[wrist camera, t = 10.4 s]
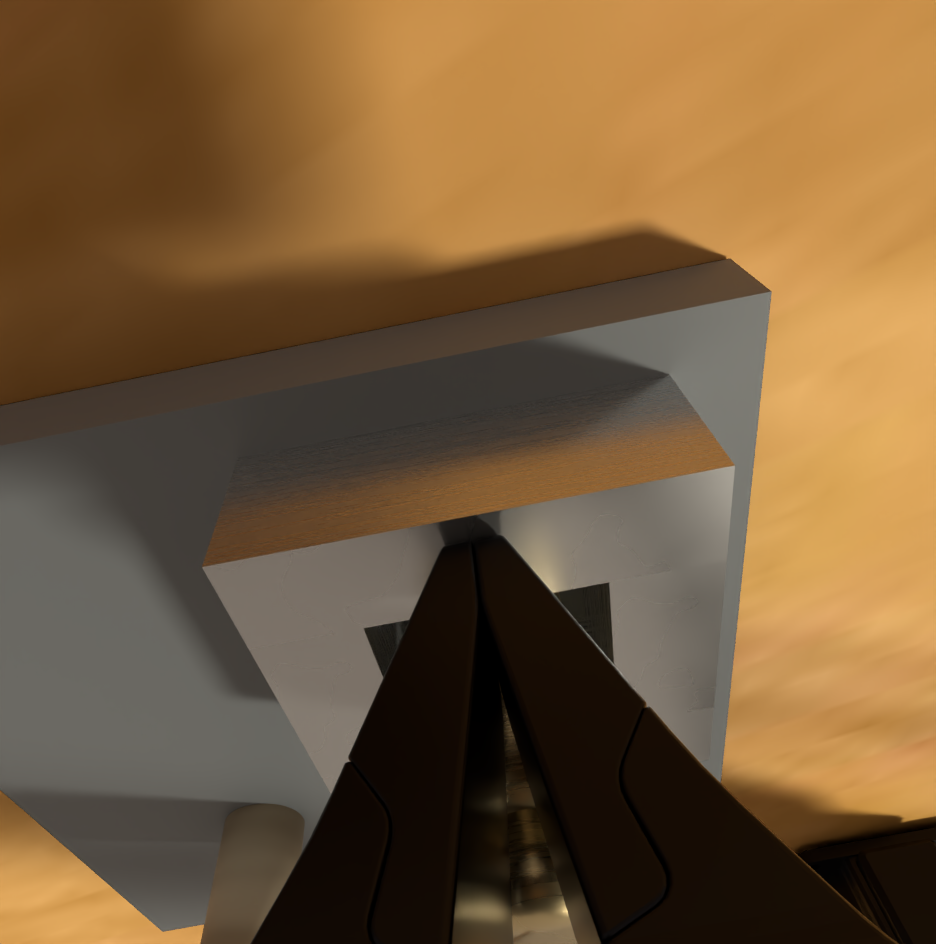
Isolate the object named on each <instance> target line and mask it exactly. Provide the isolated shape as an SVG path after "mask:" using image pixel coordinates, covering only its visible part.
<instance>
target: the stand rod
mask: <svg viewBox="0 0 936 944" xmlns="http://www.w3.org/2000/svg"><path fill="white" fill-rule="evenodd" d="M304 826H305V821H304V818H303V817H302V815H301V814H300V813H298V812H297V811H295V810H293V809H292V808H289V807H286V806H282V805H277V804H253V805H248V806H244V807H241V808H239V809H237V810H235V811H233V812H232V813H230V814H229V815H228V816H227V818H226V820H225V824H224V829H223V834H222V839H221V844H220V849H219V854H218V859H217V864H216V869H215V874H214V879H213V884H212V889H211V894H210V899H209V904H208V909H207V914H206V919H205V924H204V929H203V934H202V939H201V944H250V943H251V941H252V940H253V938H254V936H255V934H256V933H257V931H258V929H259V927H260V926H261V924H262V922H263V921H264V919H265V917H266V915H267V914H268V912H269V910H270V908H271V907H272V905H273V903H274V902H275V900H276V898H277V896H278V895H279V893H280V891H281V889H282V888H283V886H284V884H285V882H286V880H287V879H288V877H289V875H290V873H291V871H292V870H293V868H294V866H295V864H296V862H297V860H298V859H299V857H300V855H301V853H302V845H303V835H304Z"/></svg>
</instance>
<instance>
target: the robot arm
mask: <svg viewBox="0 0 936 944" xmlns="http://www.w3.org/2000/svg"><path fill="white" fill-rule="evenodd" d="M500 687H501V690H500ZM501 692H502V696H503V700H504V704H505V707H506V711H507V715H508V718H509V721H510V725H511V728H512V731H513V735H514V738H515V741H516V744H517V748H518V751H519V754H520V757H521V761H522V764H523V767H524V771H525V774H526V777H527V780H528V784H529V787H530V790H531V794H532V797H533V800H534V803H535V807H536V810H537V813H538V817H539V820H540V823H541V826H542V830H543V833H544V836H545V840H546V843H547V846H548V849H549V853H550V856H551V859H552V862H553V866H554V869H555V872H556V876H557V879H558V882H559V885H560V889H561V892H562V895H563V899H564V902H565V905H566V908H567V912H568V915H569V918H570V922H571V925H572V928H573V931H574V935H575V938H576V941H577V944H936V828H930V829H925V830H919V831H913V832H908V833H902V834H897V835H891V836H885V837H880V838H874V839H868V840H863V841H857V842H852V843H846V844H840V845H835V846H829V847H823V848H818V849H812V850H808V851H804V852H802V853H800V854H798V855H797V854H796V853H795V852H794V851H793V850H792V849H790V848H789V847H788V846H787V845H786V844H785V843H784V842H783V841H782V840H781V839H780V838H779V837H777V836H776V835H775V834H774V833H773V832H772V831H771V830H770V829H769V828H768V827H767V826H766V825H765V824H763V823H762V822H761V821H760V820H759V819H758V818H757V817H756V816H755V815H754V814H753V813H752V812H750V811H749V810H748V809H747V808H746V807H745V806H744V805H743V804H742V803H741V802H740V801H739V800H738V799H737V798H736V797H735V796H734V795H733V794H732V793H731V792H730V791H729V790H728V789H726V788H725V787H724V786H723V785H722V784H721V783H720V782H719V781H718V780H717V779H716V778H715V777H714V776H713V775H712V774H711V773H710V772H709V771H708V770H707V769H706V768H705V767H704V766H703V765H702V764H701V763H700V762H699V761H698V760H697V758H696V757H695V756H694V755H693V754H692V753H691V752H690V751H689V750H688V749H687V747H686V746H685V745H684V744H683V743H682V742H681V741H680V740H679V739H678V738H677V737H676V735H675V734H674V733H673V732H672V731H671V730H670V729H669V728H668V726H667V725H666V724H665V723H664V722H663V721H662V719H661V718H660V717H659V716H658V715H657V714H656V712H655V711H654V710H653V709H652V708H651V707H649V706H648V707H647V704H646V701H645V700H644V699H643V698H642V697H641V695H640V694H639V693H638V692H637V691H636V690H635V688H634V687H633V686H632V685H631V684H630V682H629V681H628V680H627V679H626V678H625V677H624V675H623V674H622V673H621V672H620V671H619V670H618V668H617V667H616V666H615V665H614V664H613V663H612V661H611V660H610V659H609V658H608V657H607V656H606V654H605V653H604V652H603V651H602V650H601V649H600V647H599V646H598V645H597V644H596V643H595V642H594V640H593V639H592V638H591V637H590V636H589V635H588V633H587V632H586V631H585V630H584V629H583V628H582V626H581V625H580V624H579V623H578V622H577V621H576V619H575V618H574V617H573V616H572V615H571V614H570V612H569V611H568V610H567V609H566V608H565V607H564V605H563V604H562V603H561V602H560V601H559V600H558V598H557V597H556V596H555V595H554V594H553V593H552V591H551V590H550V589H549V588H548V587H547V586H546V584H545V583H544V582H543V581H542V580H541V579H540V577H539V576H538V575H537V574H536V573H535V572H534V570H533V569H532V568H531V567H530V566H529V565H528V563H527V562H526V561H525V560H524V559H523V558H522V556H521V555H520V554H519V553H518V552H517V550H516V549H515V548H514V547H513V546H512V545H511V543H510V542H509V541H508V540H507V539H506V538H505V537H504V536H502V535H497V536H491V537H486V538H481V539H477V540H476V541H475V542H474V546H473V544H472V543H471V542H469V541H465V542H460V543H455V544H450V545H445V546H444V547H442V548H441V550H440V552H439V554H438V556H437V559H436V561H435V563H434V565H433V568H432V570H431V572H430V574H429V577H428V579H427V581H426V583H425V586H424V588H423V590H422V592H421V595H420V597H419V599H418V601H417V604H416V606H415V608H414V610H413V612H412V615H411V617H410V619H409V621H408V624H407V626H406V628H405V630H404V633H403V635H402V637H401V639H400V642H399V644H398V646H397V648H396V651H395V653H394V655H393V657H392V659H391V662H390V664H389V666H388V668H387V671H386V673H385V675H384V677H383V680H382V682H381V684H380V686H379V689H378V691H377V693H376V695H375V698H374V700H373V702H372V704H371V707H370V709H369V711H368V713H367V715H366V718H365V720H364V722H363V724H362V727H361V729H360V731H359V733H358V736H357V738H356V740H355V742H354V745H353V747H352V749H351V751H350V754H349V756H348V759H349V761H350V762H346V763H345V764H344V766H343V768H342V771H341V773H340V775H339V777H338V780H337V782H336V784H335V787H334V789H333V791H332V793H331V795H330V797H329V799H328V802H327V804H326V806H325V808H324V810H323V812H322V814H321V816H320V818H319V820H318V822H317V824H316V826H315V828H314V831H313V833H312V835H311V837H310V839H309V840H308V842H307V844H306V846H305V848H304V850H303V851H302V853H301V855H300V857H299V859H298V860H297V862H296V864H295V866H294V868H293V870H292V871H291V873H290V875H289V877H288V879H287V880H286V882H285V884H284V886H283V888H282V889H281V891H280V893H279V895H278V896H277V898H276V900H275V902H274V903H273V905H272V907H271V908H270V910H269V912H268V914H267V915H266V917H265V919H264V921H263V922H262V924H261V926H260V927H259V929H258V931H257V933H256V934H255V936H254V938H253V940H252V941H251V943H250V944H513V924H512V902H511V880H510V858H509V836H508V813H507V791H506V769H505V747H504V725H503V708H502V697H501Z"/></svg>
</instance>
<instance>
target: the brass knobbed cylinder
mask: <svg viewBox="0 0 936 944" xmlns="http://www.w3.org/2000/svg"><path fill="white" fill-rule="evenodd" d="M553 594H554V595H555V596H556V597H557V598H558V600H559V601H560V602H561V599H560V595H559V592H555V593H553ZM500 690H501V687H500ZM501 697H502V708H503V725H504V747H505V769H506V791H507V813H508V836H509V858H510V880H511V902H512V924H513V944H577V941H576V938H575V935H574V931H573V928H572V925H571V922H570V918H569V915H568V912H567V908H566V905H565V902H564V899H563V895H562V892H561V889H560V885H559V882H558V879H557V876H556V872H555V869H554V866H553V862H552V859H551V856H550V853H549V849H548V846H547V843H546V840H545V836H544V833H543V830H542V826H541V823H540V820H539V817H538V813H537V810H536V807H535V803H534V800H533V797H532V794H531V790H530V787H529V784H528V780H527V777H526V774H525V771H524V767H523V764H522V761H521V757H520V754H519V751H518V748H517V744H516V741H515V738H514V735H513V731H512V728H511V725H510V721H509V718H508V715H507V711H506V707H505V704H504V700H503V696H502V692H501Z"/></svg>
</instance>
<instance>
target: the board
mask: <svg viewBox="0 0 936 944" xmlns="http://www.w3.org/2000/svg"><path fill="white" fill-rule="evenodd" d="M770 301H771V291H770V290H769V289H768V288H766V287H765V286H764V285H763V284H761V283H760V282H759V281H758V280H756V279H755V278H754V277H753V276H751V275H750V274H749V273H748V272H746V271H745V270H744V269H743V268H741V267H740V266H739V265H738V264H736V263H735V262H734V261H733V260H731V259H725V260H720V261H715V262H710V263H705V264H700V265H695V266H690V267H685V268H680V269H675V270H670V271H665V272H660V273H656V274H651V275H646V276H641V277H636V278H631V279H626V280H621V281H616V282H611V283H606V284H601V285H596V286H591V287H586V288H581V289H576V290H571V291H566V292H561V293H556V294H551V295H547V296H542V297H537V298H532V299H527V300H522V301H517V302H512V303H507V304H502V305H497V306H492V307H487V308H482V309H477V310H472V311H467V312H462V313H457V314H452V315H447V316H442V317H437V318H433V319H428V320H423V321H418V322H413V323H408V324H403V325H398V326H393V327H388V328H383V329H378V330H373V331H368V332H363V333H358V334H353V335H348V336H343V337H338V338H333V339H328V340H324V341H319V342H314V343H309V344H304V345H299V346H294V347H289V348H284V349H279V350H274V351H269V352H264V353H259V354H254V355H249V356H244V357H239V358H234V359H229V360H224V361H219V362H214V363H210V364H205V365H200V366H195V367H190V368H185V369H180V370H175V371H170V372H165V373H160V374H155V375H150V376H145V377H140V378H135V379H130V380H125V381H120V382H115V383H110V384H105V385H100V386H96V387H91V388H86V389H81V390H76V391H71V392H66V393H61V394H56V395H51V396H46V397H41V398H36V399H31V400H26V401H21V402H16V403H11V404H6V405H1V406H0V790H1V791H2V792H3V793H4V794H5V795H7V796H8V797H9V798H10V799H11V800H12V801H13V802H15V803H16V804H17V805H18V806H19V807H20V808H21V809H23V810H24V811H25V812H26V813H27V814H28V815H30V816H31V817H32V818H33V819H34V820H35V821H36V822H38V823H39V824H40V825H41V826H42V827H43V828H44V829H46V830H47V831H48V832H49V833H50V834H51V835H52V836H54V837H55V838H56V839H57V840H58V841H59V842H60V843H62V844H63V845H64V846H65V847H66V848H67V849H69V850H70V851H71V852H72V853H73V854H74V855H75V856H77V857H78V858H79V859H80V860H81V861H82V862H83V863H85V864H86V865H87V866H88V867H89V868H90V869H91V870H93V871H94V872H95V873H96V874H97V875H98V876H99V877H101V878H102V879H103V880H104V881H105V882H106V883H108V884H109V885H110V886H111V887H112V888H113V889H114V890H116V891H117V892H118V893H119V894H120V895H121V896H122V897H124V898H125V899H126V900H127V901H128V902H129V903H130V904H132V905H133V906H134V907H135V908H136V909H137V910H138V911H140V912H141V913H142V914H143V915H144V916H145V917H147V918H148V919H149V920H150V921H151V922H152V923H153V924H155V925H156V926H157V927H158V928H159V929H160V930H161V931H163V932H164V931H169V930H175V929H180V928H186V927H192V926H197V925H203V924H205V919H206V914H207V909H208V904H209V899H210V894H211V889H212V884H213V879H214V874H215V869H216V864H217V859H218V854H219V849H220V844H221V839H222V834H223V829H224V824H225V820H226V818H227V816H228V815H229V814H230V813H232V812H233V811H235V810H237V809H239V808H241V807H244V806H248V805H253V804H277V805H282V806H286V807H289V808H292V809H293V810H295V811H297V812H298V813H300V814H301V815H302V817H303V818H304V821H305V826H304V835H303V845H302V851H303V850H304V848H305V846H306V844H307V842H308V840H309V839H310V837H311V835H312V833H313V831H314V828H315V826H316V824H317V822H318V820H319V818H320V816H321V814H322V812H323V810H324V808H325V806H326V804H327V802H328V799H329V797H330V795H331V793H330V791H329V790H328V788H327V786H326V784H325V783H324V781H323V779H322V777H321V776H320V774H319V772H318V770H317V769H316V767H315V765H314V763H313V762H312V760H311V758H310V756H309V754H308V753H307V751H306V749H305V747H304V746H303V744H302V742H301V740H300V739H299V737H298V735H297V733H296V732H295V730H294V728H293V726H292V725H291V723H290V721H289V719H288V718H287V716H286V714H285V712H284V711H283V709H282V707H281V705H280V703H279V702H278V700H277V698H276V696H275V695H274V693H273V691H272V689H271V688H270V686H269V684H268V682H267V681H266V679H265V677H264V675H263V674H262V672H261V670H260V668H259V667H258V665H257V663H256V661H255V660H254V658H253V656H252V654H251V652H250V651H249V649H248V647H247V645H246V644H245V642H244V640H243V638H242V637H241V635H240V633H239V631H238V630H237V628H236V626H235V624H234V623H233V621H232V619H231V617H230V616H229V614H228V612H227V610H226V609H225V607H224V605H223V603H222V601H221V600H220V598H219V596H218V594H217V593H216V591H215V589H214V587H213V586H212V584H211V582H210V580H209V579H208V577H207V575H206V573H205V572H204V570H203V568H202V565H203V562H204V559H205V556H206V553H207V550H208V547H209V544H210V541H211V538H212V535H213V532H214V529H215V526H216V523H217V520H218V517H219V514H220V511H221V507H222V504H223V501H224V498H225V495H226V492H227V489H228V486H229V483H230V480H231V477H232V474H233V471H234V468H235V465H236V462H237V459H238V458H241V457H247V456H252V455H257V454H262V453H267V452H272V451H277V450H283V449H288V448H293V447H298V446H303V445H308V444H313V443H319V442H324V441H329V440H334V439H339V438H344V437H349V436H355V435H360V434H365V433H370V432H375V431H380V430H385V429H391V428H396V427H401V426H406V425H411V424H416V423H421V422H427V421H432V420H437V419H442V418H447V417H452V416H457V415H463V414H468V413H473V412H478V411H483V410H488V409H493V408H499V407H504V406H509V405H514V404H519V403H524V402H529V401H535V400H540V399H545V398H550V397H555V396H560V395H565V394H571V393H576V392H581V391H586V390H591V389H596V388H601V387H607V386H612V385H617V384H622V383H627V382H632V381H637V380H643V379H648V378H653V377H658V376H663V375H668V374H669V375H670V376H671V377H672V379H673V380H674V381H675V383H676V384H677V386H678V387H679V388H680V390H681V391H682V393H683V394H684V395H685V397H686V398H687V399H688V401H689V402H690V404H691V405H692V406H693V408H694V409H695V411H696V412H697V413H698V415H699V416H700V418H701V419H702V420H703V422H704V423H705V424H706V426H707V427H708V429H709V430H710V431H711V433H712V434H713V436H714V437H715V438H716V440H717V441H718V442H719V444H720V445H721V447H722V448H723V449H724V451H725V452H726V454H727V455H728V456H729V458H730V459H731V461H732V462H733V463H734V465H735V472H734V483H733V495H732V506H731V518H730V529H729V541H728V552H727V563H726V575H725V586H724V598H723V609H722V621H721V632H720V644H719V655H718V666H717V678H716V689H715V701H714V712H713V724H712V735H711V747H710V758H709V760H703V761H699V762H700V763H701V764H702V765H703V766H704V767H705V768H706V769H707V770H708V771H709V772H710V773H711V774H712V775H713V776H714V777H715V778H716V779H717V780H718V781H719V782H720V783H721V775H722V765H723V756H724V746H725V736H726V727H727V717H728V707H729V698H730V688H731V678H732V669H733V659H734V649H735V640H736V630H737V620H738V611H739V601H740V591H741V582H742V572H743V562H744V553H745V543H746V533H747V524H748V514H749V504H750V495H751V485H752V475H753V466H754V456H755V446H756V437H757V427H758V417H759V407H760V398H761V388H762V378H763V369H764V359H765V349H766V340H767V330H768V320H769V311H770ZM559 595H560V599H561V603H562V604H563V605H564V607H565V608H566V609H567V610H568V611H569V612H570V614H571V615H572V616H573V617H574V618H579V617H584V606H583V596H582V587H581V588H576V589H571V590H565V591H560V592H559ZM408 621H409V620H405V621H403V622H404V624H405V627H406V626H407V624H408Z"/></svg>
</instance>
